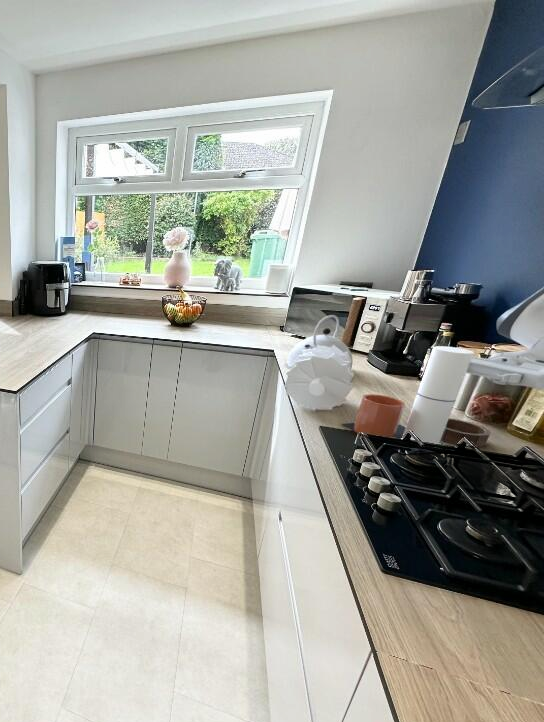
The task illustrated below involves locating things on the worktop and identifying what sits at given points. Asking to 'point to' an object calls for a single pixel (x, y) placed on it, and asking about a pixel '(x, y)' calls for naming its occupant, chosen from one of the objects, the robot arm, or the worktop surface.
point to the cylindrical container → (438, 392)
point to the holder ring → (465, 432)
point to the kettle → (319, 343)
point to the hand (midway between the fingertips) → (475, 372)
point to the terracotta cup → (378, 415)
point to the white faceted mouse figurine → (320, 378)
